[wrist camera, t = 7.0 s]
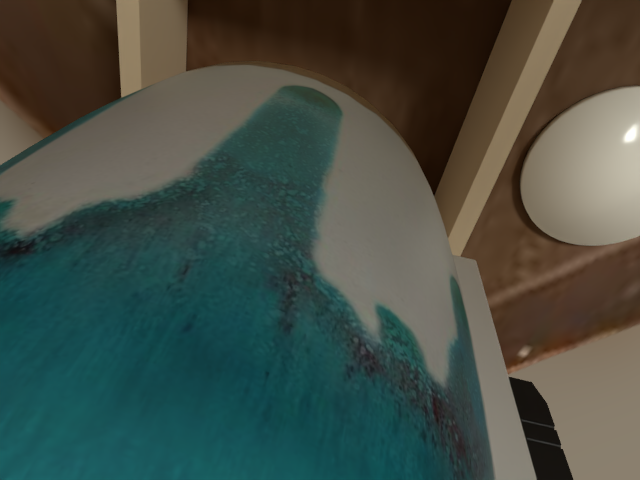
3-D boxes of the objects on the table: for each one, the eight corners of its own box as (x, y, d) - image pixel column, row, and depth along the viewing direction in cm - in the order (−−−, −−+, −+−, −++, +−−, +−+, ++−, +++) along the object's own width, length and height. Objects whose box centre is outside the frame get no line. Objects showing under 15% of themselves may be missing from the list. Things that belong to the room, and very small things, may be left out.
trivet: (570, 65, 29) (574, 67, 28) (751, 109, 29) (758, 112, 28) (493, 221, 35) (494, 225, 35) (639, 256, 35) (643, 260, 35)
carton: (171, -219, 23) (62, -301, 15) (582, -117, 24) (682, -147, 16) (168, 194, 38) (110, 263, 30) (425, 255, 38) (437, 339, 30)
